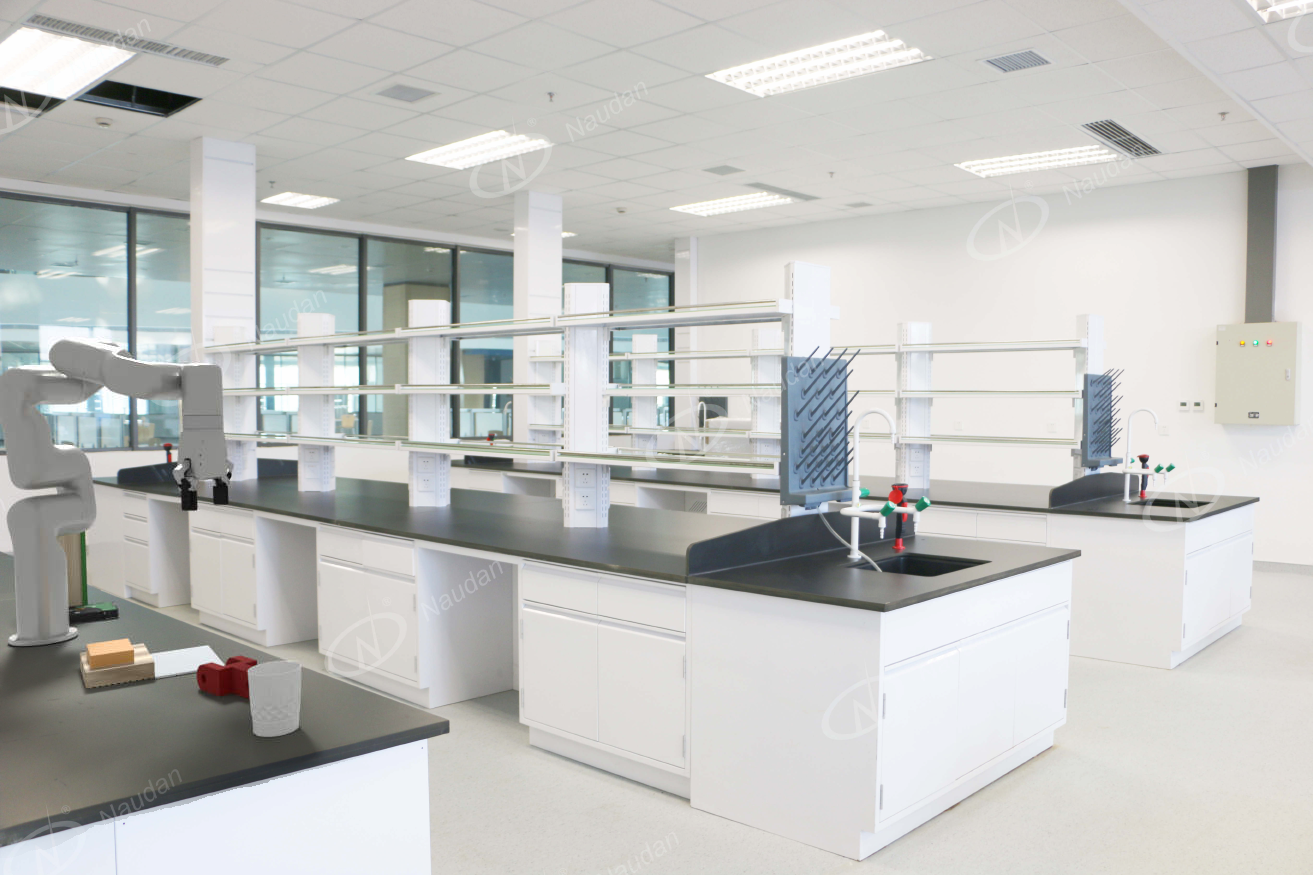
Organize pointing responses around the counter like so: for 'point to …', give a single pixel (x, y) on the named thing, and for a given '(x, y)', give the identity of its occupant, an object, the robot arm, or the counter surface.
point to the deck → (119, 669)
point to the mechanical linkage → (226, 677)
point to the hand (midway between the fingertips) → (205, 507)
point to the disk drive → (92, 612)
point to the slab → (110, 652)
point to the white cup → (275, 697)
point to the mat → (183, 661)
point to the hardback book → (75, 567)
